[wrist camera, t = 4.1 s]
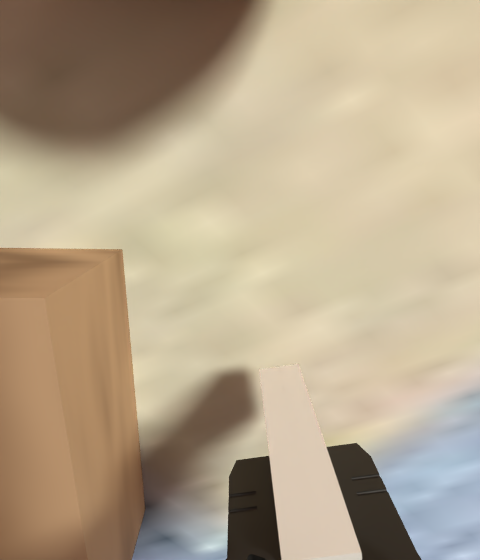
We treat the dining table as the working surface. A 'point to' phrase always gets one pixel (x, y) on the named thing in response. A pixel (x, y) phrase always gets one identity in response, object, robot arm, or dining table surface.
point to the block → (67, 408)
